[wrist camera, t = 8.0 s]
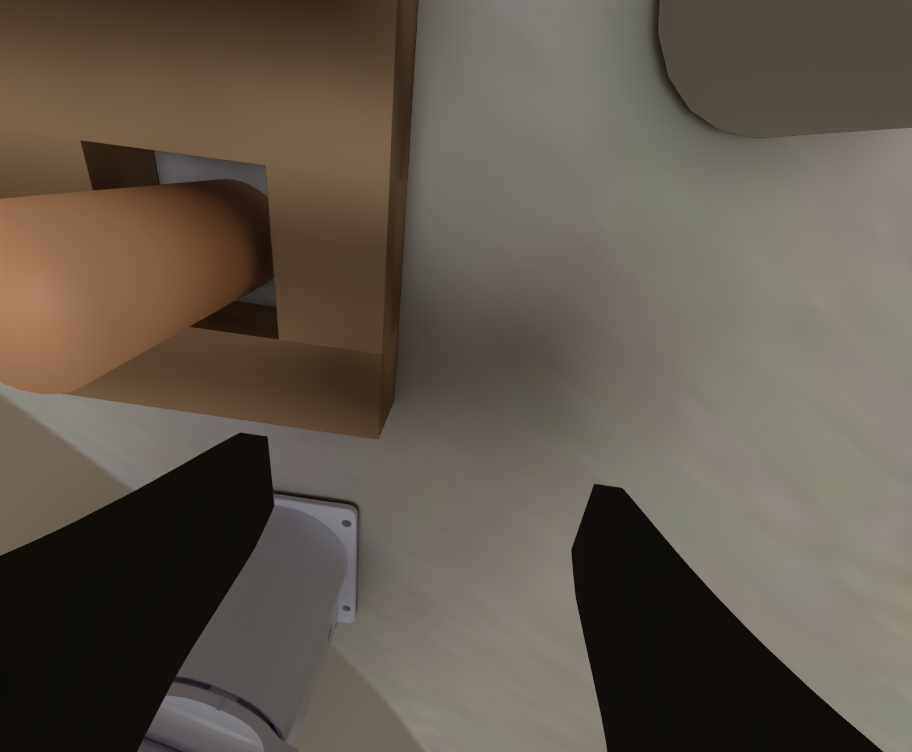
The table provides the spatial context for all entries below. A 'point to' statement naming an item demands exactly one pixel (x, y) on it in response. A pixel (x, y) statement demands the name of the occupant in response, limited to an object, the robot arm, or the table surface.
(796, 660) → the table surface
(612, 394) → the table surface
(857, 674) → the table surface
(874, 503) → the table surface
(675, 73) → the can
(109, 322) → the peg
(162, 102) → the socket block
